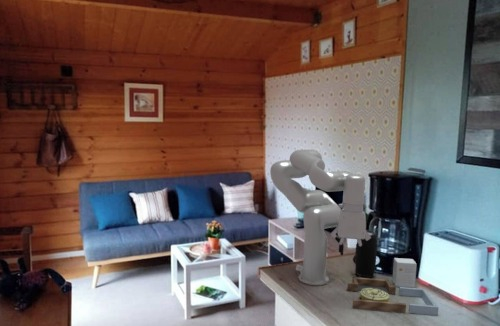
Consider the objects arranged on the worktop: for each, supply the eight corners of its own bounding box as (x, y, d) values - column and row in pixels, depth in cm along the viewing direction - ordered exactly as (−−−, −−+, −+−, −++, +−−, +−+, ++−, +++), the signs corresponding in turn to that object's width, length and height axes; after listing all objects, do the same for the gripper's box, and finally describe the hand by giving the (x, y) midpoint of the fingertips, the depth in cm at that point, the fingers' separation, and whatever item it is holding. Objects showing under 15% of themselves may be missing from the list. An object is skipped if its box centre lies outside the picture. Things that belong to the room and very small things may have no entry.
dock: (409, 313, 148) (410, 305, 148) (398, 294, 164) (399, 286, 164) (437, 315, 147) (438, 307, 147) (423, 296, 163) (424, 288, 163)
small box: (411, 282, 176) (413, 258, 175) (414, 288, 171) (417, 263, 169) (391, 281, 177) (393, 257, 176) (394, 286, 171) (397, 262, 170)
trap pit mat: (358, 290, 166) (358, 290, 166) (356, 285, 170) (356, 285, 170) (387, 293, 164) (387, 292, 164) (385, 288, 169) (385, 287, 169)
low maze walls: (353, 308, 150) (353, 300, 150) (345, 283, 172) (345, 276, 172) (405, 312, 148) (406, 304, 148) (391, 287, 170) (391, 280, 170)
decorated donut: (376, 293, 164) (377, 284, 164) (394, 305, 154) (395, 295, 154) (354, 296, 160) (355, 287, 160) (371, 309, 150) (372, 299, 150)
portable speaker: (354, 277, 178) (357, 233, 176) (354, 270, 187) (357, 228, 185) (374, 280, 176) (378, 236, 174) (374, 273, 185) (377, 230, 183)
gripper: (330, 208, 151) (327, 256, 153) (378, 211, 149) (374, 259, 152) (328, 204, 159) (325, 249, 161) (374, 206, 157) (370, 253, 159)
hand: (349, 254), depth 156 cm, fingers open, 5 cm apart
